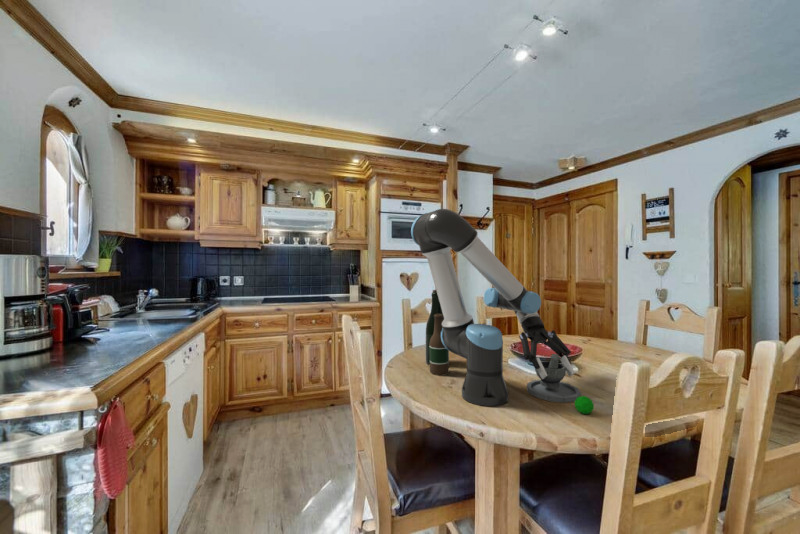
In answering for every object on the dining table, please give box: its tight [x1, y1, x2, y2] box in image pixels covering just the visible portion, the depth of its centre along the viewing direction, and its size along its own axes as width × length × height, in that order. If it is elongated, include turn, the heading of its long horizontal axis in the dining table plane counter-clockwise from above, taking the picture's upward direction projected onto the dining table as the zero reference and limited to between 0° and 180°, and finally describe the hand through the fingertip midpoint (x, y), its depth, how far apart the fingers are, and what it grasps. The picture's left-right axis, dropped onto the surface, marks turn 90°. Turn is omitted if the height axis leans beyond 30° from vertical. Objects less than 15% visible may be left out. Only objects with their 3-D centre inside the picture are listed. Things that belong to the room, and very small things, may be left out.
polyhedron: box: [574, 395, 595, 415], centre depth 99 cm, size 5×5×5 cm
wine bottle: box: [424, 289, 444, 366], centre depth 150 cm, size 10×10×33 cm
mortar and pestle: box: [534, 353, 567, 388], centre depth 115 cm, size 11×9×12 cm
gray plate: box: [526, 379, 582, 403], centre depth 115 cm, size 16×16×2 cm
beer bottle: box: [429, 314, 450, 376], centre depth 137 cm, size 8×8×24 cm
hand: (558, 375), depth 112 cm, fingers closed on mortar and pestle, 10 cm apart
